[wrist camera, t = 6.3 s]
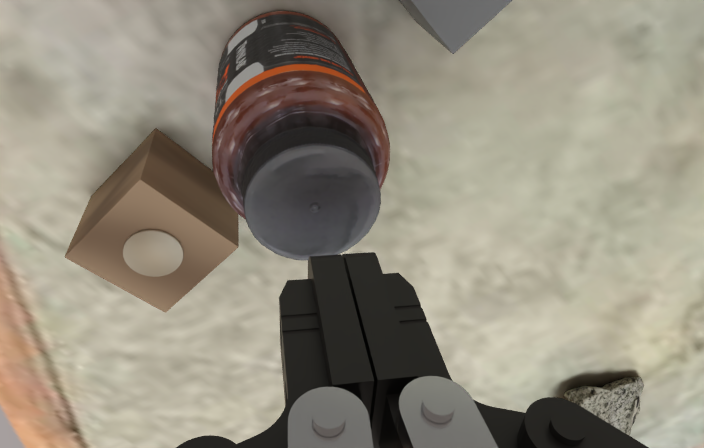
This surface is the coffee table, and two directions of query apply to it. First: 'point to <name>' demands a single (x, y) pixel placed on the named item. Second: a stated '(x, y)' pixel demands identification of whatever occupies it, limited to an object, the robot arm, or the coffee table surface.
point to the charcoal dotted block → (453, 18)
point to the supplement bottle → (297, 137)
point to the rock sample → (611, 401)
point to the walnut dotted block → (156, 224)
